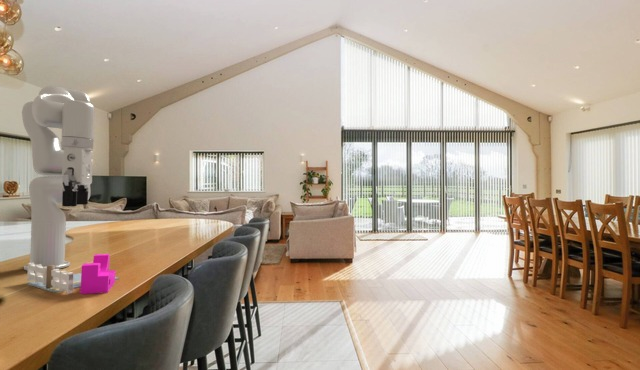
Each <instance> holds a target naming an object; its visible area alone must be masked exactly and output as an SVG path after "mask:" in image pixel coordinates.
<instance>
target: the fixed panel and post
mask: <svg viewBox="0 0 640 370" xmlns="http://www.w3.org/2000/svg"><path fill="white" fill-rule="evenodd" d="M73 274H74V272H71V271H70V272H68V271H67V270H61V269H55V265H48V266H47V275H46V288H47V289H50V288H52V289H59V291H60V292H64V291H65V294H72V293H74V289H73Z"/></svg>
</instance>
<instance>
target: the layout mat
mask: <svg viewBox="0 0 640 370" xmlns="http://www.w3.org/2000/svg"><path fill="white" fill-rule="evenodd" d="M116 280H120V277H117V276H115V281H116ZM25 283H26V284H25V285H29V286H31V285H32V287H35V288H38V289H42V290H45V291H47V292H50V293H54V294H56V293H60V292H61V291H59V289H52V288H50V289H47V288H46V285H45V286H44V285H42V282H40V283H35V280H33V281H27V282H25ZM78 288H79V289H80V288H81V272H78V273H73V290H74V289H78Z"/></svg>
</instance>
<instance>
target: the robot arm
mask: <svg viewBox="0 0 640 370" xmlns="http://www.w3.org/2000/svg"><path fill="white" fill-rule="evenodd" d="M21 117H22V123H23V126H24V129H25V131H26V134H27V135H28V137H29V140H30V143H31V159H32V167H33V171H34V172H35V174H37V175H39V176H38V177H35V178H33V179H32V180H30V183H29V185H28V193H29V198H30V207H31V208H30V209H31V216H30V217H31V220H30V221H31V222H30V223H31V224H30V226H31V227H30V248H29V249H30V251H29V252H30V253H29V254H30V255H29V258H30V259H29V263H34V265H42V267H47V266H48V265H55V269H60V270H61V269H64V268H67V267H69V266H70V265H71V262H70V261H68V260H65V259H66V257H65V256H66V255H65V254H66V229H67V227H66V226H67V216H66V213H65V212H64V211H63V210H62V209H61V208H60V207H59V206H58V205H62V207H77V205H81V206H82V205H88V204H89V199H90V197H91V184H92V183H93V162H92V159H93V158H92V152H94V142H95V141H94V138H95V137H94V136H95V106H94V104H92V103H91V99H90V97H89V96H88V94H87V93H86V92H84V91H82V90H79V89H74V88H73V89H72V88H68V87H63V86H56V85H48V86H44V87H42V88H41V89H40V90H39V92H38V95H36V97H34V99H33V101H28V102H25V103H24V104H23V106H22V110H21ZM50 128H51V129H61V139H60V138H59V137H58V135H56V133H55V132H54V131H53V130H51V129H50ZM23 270H25V271H27V272H28V263H27V264H25V265H24V266H23Z"/></svg>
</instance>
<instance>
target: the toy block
mask: <svg viewBox="0 0 640 370" xmlns="http://www.w3.org/2000/svg"><path fill="white" fill-rule="evenodd" d="M109 269H110V253H105V254H104V253H103V254H102V253H98V254H97V253H96V254H94V255H93V260H92V262H87V263H83V264H82V265H81V272H80V273H81V287H80V293H79V294H80V295H88V294H89V295H90V294H105V293H106V294H107V293H109V291H110V290H111V289H112V287H114V286H113V285H114V284H115V283H116V280H115V277H116V269H115V270H113V269H112V270H111V269H110V270H109Z"/></svg>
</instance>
